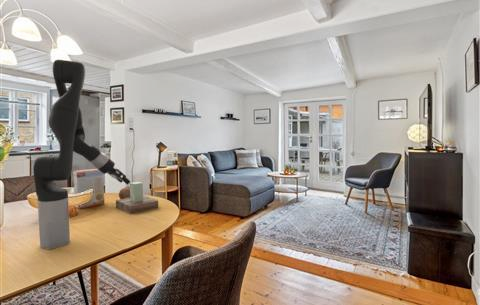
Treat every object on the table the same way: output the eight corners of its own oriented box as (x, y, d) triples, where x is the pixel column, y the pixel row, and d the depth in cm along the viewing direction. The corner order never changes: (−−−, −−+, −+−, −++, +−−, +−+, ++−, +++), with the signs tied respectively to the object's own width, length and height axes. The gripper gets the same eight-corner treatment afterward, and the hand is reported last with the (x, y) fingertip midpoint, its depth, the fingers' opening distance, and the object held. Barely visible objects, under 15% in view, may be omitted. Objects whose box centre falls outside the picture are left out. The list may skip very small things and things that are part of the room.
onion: (126, 204, 164) (127, 189, 168) (138, 201, 161) (139, 186, 165) (114, 202, 156) (115, 186, 160) (126, 199, 153) (127, 183, 157)
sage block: (143, 200, 148) (142, 182, 147) (134, 202, 144) (134, 184, 143) (138, 198, 151) (138, 181, 150) (130, 200, 147) (129, 182, 146)
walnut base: (158, 207, 148) (158, 200, 147) (130, 213, 136) (130, 206, 136) (142, 201, 160) (142, 195, 160) (116, 207, 148) (115, 200, 148)
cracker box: (100, 202, 158) (99, 168, 157) (104, 204, 154) (103, 169, 153) (74, 207, 148) (73, 170, 146) (78, 209, 144) (76, 171, 142)
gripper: (113, 157, 130) (136, 178, 139) (102, 156, 140) (124, 175, 148) (102, 169, 126) (126, 189, 135) (91, 167, 136) (115, 186, 145)
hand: (125, 182), depth 142 cm, fingers open, 8 cm apart
